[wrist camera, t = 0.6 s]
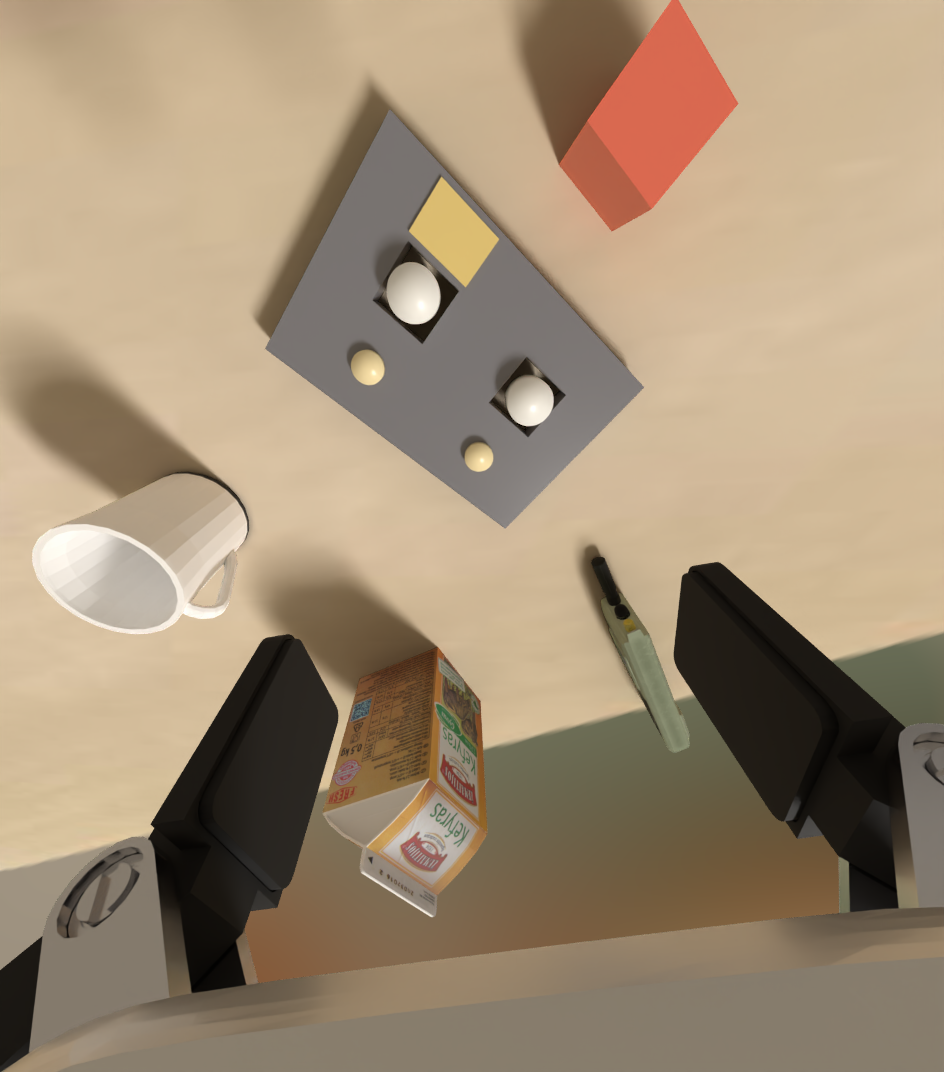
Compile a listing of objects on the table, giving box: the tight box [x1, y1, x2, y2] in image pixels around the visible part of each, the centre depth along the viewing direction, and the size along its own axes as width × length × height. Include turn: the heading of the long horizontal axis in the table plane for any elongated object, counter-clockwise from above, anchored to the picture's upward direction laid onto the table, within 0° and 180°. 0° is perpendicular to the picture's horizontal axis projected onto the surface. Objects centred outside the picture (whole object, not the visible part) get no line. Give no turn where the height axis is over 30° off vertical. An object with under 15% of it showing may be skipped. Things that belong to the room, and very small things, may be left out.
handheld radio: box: [591, 557, 690, 753], centre depth 40 cm, size 7×3×25 cm
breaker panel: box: [265, 110, 644, 528], centre depth 28 cm, size 15×22×3 cm
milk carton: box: [322, 647, 487, 917], centre depth 38 cm, size 11×11×19 cm
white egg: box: [505, 375, 554, 426], centre depth 28 cm, size 3×3×2 cm
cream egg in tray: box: [387, 262, 441, 324], centre depth 24 cm, size 3×3×2 cm
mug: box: [32, 472, 249, 634], centre depth 30 cm, size 11×9×10 cm
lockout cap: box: [559, 0, 738, 231], centre depth 21 cm, size 5×5×6 cm
